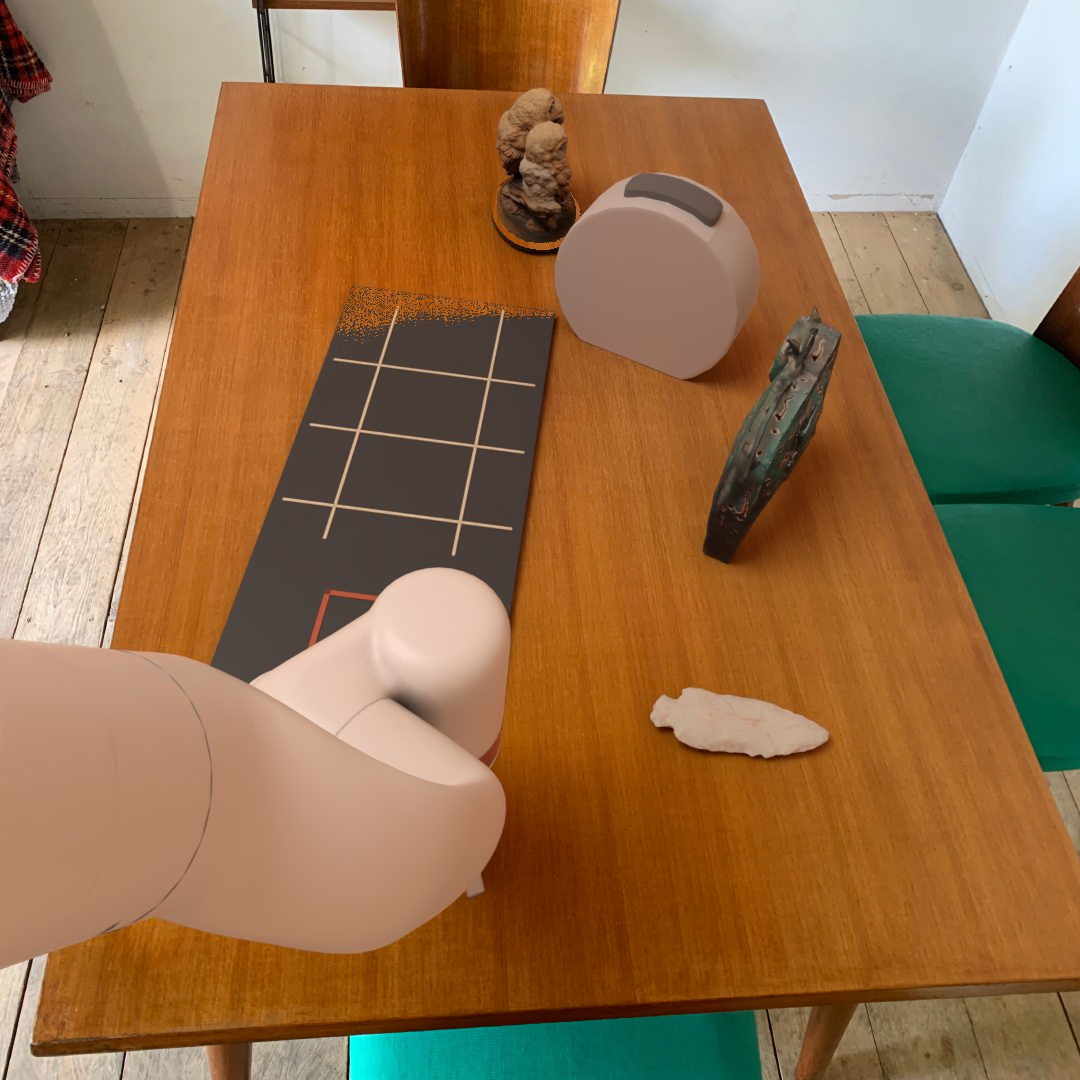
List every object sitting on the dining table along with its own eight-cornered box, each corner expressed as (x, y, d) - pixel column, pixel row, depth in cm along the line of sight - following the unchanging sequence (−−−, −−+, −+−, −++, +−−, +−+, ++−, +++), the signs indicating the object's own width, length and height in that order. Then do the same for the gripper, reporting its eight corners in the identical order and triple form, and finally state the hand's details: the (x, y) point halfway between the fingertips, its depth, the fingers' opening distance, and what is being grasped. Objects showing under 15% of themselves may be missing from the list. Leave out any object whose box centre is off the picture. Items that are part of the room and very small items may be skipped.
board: (488, 760, 74) (488, 754, 73) (193, 721, 74) (190, 715, 73) (554, 318, 108) (555, 310, 107) (353, 291, 108) (352, 284, 107)
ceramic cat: (753, 426, 100) (810, 271, 84) (809, 449, 98) (879, 297, 82) (682, 550, 88) (733, 400, 73) (745, 579, 87) (811, 432, 71)
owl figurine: (591, 260, 115) (610, 130, 102) (498, 262, 114) (505, 130, 100) (570, 180, 126) (584, 53, 113) (484, 181, 125) (488, 51, 111)
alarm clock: (739, 355, 107) (788, 202, 91) (716, 393, 102) (765, 239, 87) (575, 292, 111) (595, 136, 96) (547, 326, 107) (563, 169, 91)
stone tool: (647, 750, 76) (829, 769, 75) (650, 738, 74) (836, 757, 74) (648, 690, 80) (822, 708, 79) (651, 677, 78) (829, 695, 77)
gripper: (342, 629, 59) (363, 749, 73) (423, 882, 50) (429, 963, 64) (453, 597, 61) (453, 720, 75) (550, 835, 52) (528, 923, 66)
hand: (442, 831), depth 70 cm, fingers closed on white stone, 5 cm apart
